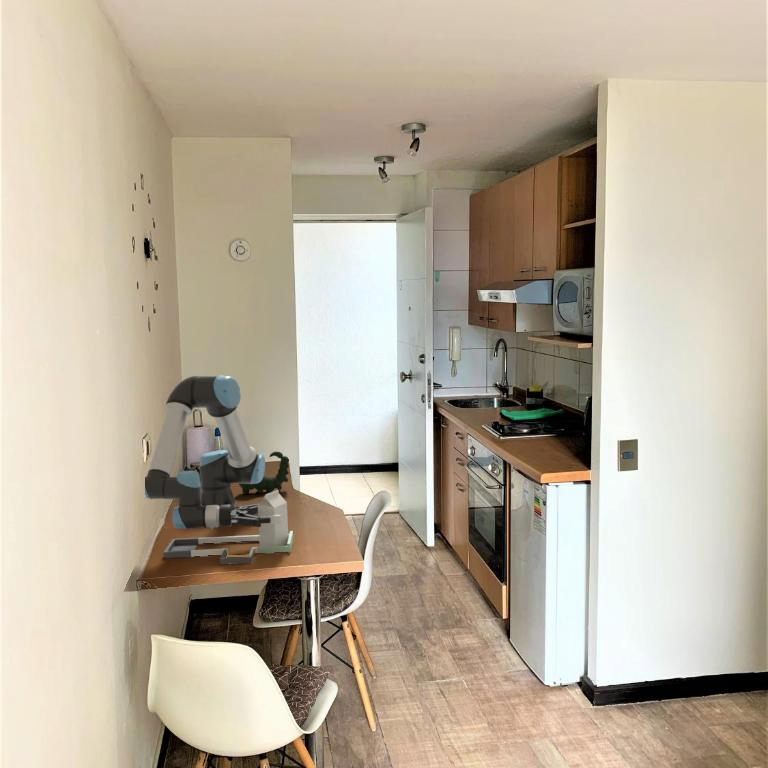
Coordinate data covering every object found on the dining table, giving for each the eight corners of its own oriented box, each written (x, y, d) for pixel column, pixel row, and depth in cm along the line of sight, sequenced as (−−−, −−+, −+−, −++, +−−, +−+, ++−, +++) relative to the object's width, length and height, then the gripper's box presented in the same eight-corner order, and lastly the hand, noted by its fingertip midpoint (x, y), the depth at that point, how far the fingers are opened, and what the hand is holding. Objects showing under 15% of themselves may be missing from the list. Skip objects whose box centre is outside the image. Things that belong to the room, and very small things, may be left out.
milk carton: (288, 544, 266) (286, 491, 263) (276, 551, 260) (273, 496, 257) (272, 541, 269) (270, 488, 267) (259, 548, 263) (256, 493, 261)
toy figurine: (286, 491, 344) (229, 491, 338) (288, 449, 342) (231, 448, 336) (288, 496, 335) (230, 496, 329) (290, 453, 333) (231, 453, 327)
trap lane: (173, 544, 270) (172, 536, 269) (293, 539, 272) (292, 530, 271) (157, 567, 247) (156, 558, 246) (288, 561, 249) (288, 552, 249)
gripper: (225, 516, 275) (285, 513, 276) (214, 538, 250) (279, 535, 251) (224, 495, 274) (284, 493, 275) (213, 515, 249) (278, 513, 250)
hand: (282, 513), depth 263 cm, fingers open, 13 cm apart
